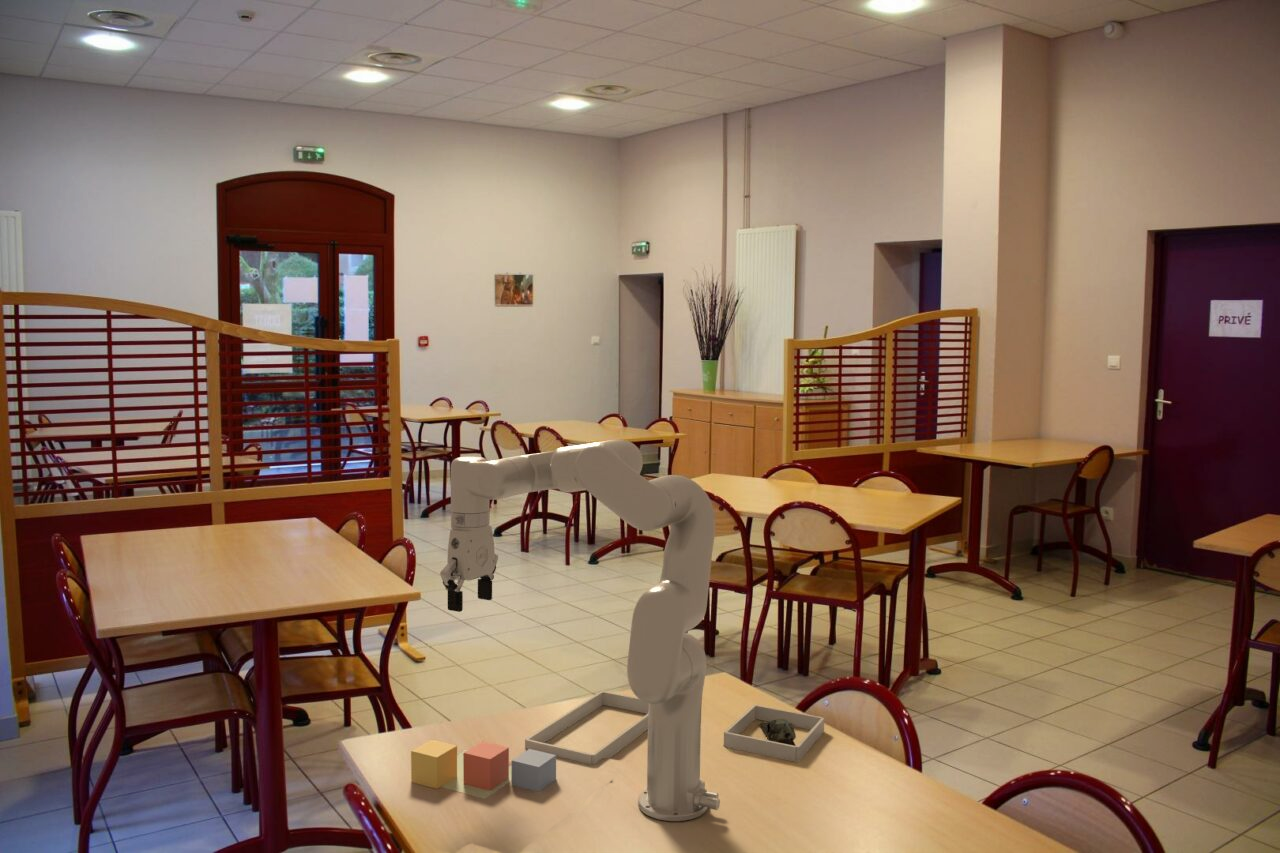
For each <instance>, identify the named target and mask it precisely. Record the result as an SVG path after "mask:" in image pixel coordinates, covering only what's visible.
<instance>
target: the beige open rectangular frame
mask: <svg viewBox="0 0 1280 853" xmlns="http://www.w3.org/2000/svg"><path fill="white" fill-rule="evenodd" d="M602 706H608V707H613V708H616V709H617V708H618V709H622V710H626V711H632V712H636V713H642V714H645V715H644V716H643V717H641V718H640V719H638V720H637V721H636V722H634V723H633V724H631V726H629V727H628V728H626V729H624V731H622V732H621V733H619V734H618V735H617V736H615V737H614V738H612V739H611V740H610V741H609V742H607V743H605V745H603V746H602V747H600V748H599V749H598V750H596V751H595V752H593V753H591V752H590V753H588V752H586V751H582V750H581V751H580V750H576V749H572V748H567V747H563V746H559V745H554V744H550V743H547V742H548V741H550V740H552V737H553V738H555V737H556V736H557V735H559V734H560V733H562V732H563V731H565V730H566V729H568V728H569V726H570V727H571V726H572V724H573V725H574V724H576V723H577V722H578V721H580V720H582V719H584V718H585V717H586V716H588V715H589V714H591V713H593V712H594V711H595V710H598V709H599V708H600V707H602ZM648 709H649V703H646V702H643V701H642V700H640V699H639V698H638V697H637V696H632V695H631V696H630V695H626V694H621V693H615V692H609V691H603V690H601V691H598V693H596V694H593V696H591V697H589V698H587V699H586V700H585V701H583V702H582V703H580V704H578V705H577V706H575V707H574V708H572V709H570V710H569V711H568V712H566V713H564V714H562V715H561V716H559V717H558V718H556V719H555V720H553V721H552V722H550V723H548V724H547V725H545V726H543V727H542V728H541V729H539V730H538V731H536V732H534V733H533V734H531V735H530V736H528V737H526V738H525V739H524V749H526V750H528V749H532V750H537V751H541V752H545V753H549V754H554V755H556V757H558V758H563V759H565V760H566V759H567V760H572V761H576V762H580V763H584V764H589V765H596V764H597V763H599V762H600V761H601V760H602V759H604V758H606V759H611V758H612V757H613V756H615V755H616V754H617V753H618V752H620V751H621V750H623V749H625V747H626V746H628V745H629V744H630V743H632V742H633V741H635V740H636V739H637V738H638V737H639V736H641V735H643V732H644V733H645V732H646V731H648ZM567 727H568V728H567ZM564 729H565V730H564ZM562 730H563V731H562ZM561 731H562V732H561ZM559 732H560V733H559ZM558 733H559V734H558ZM556 734H557V735H556ZM555 735H556V736H555ZM549 739H550V740H549ZM546 741H547V742H546Z"/></svg>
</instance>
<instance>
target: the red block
mask: <svg viewBox="0 0 1280 853" xmlns="http://www.w3.org/2000/svg"><path fill="white" fill-rule="evenodd" d="M509 749H510V747H507V746H504V745H500V744H495V743H491V742H487V741H481V742H479V743H477V744H475V745H474V746H472V747H470V748H469V749H468V750H467V751H466V752H464V753H463V772H464V784H466V785H470V786H473V787H477V788H481V789H485V790H489V791H491V790H492V789H494V788H495V787H497V786H498V785H499V784H501V783H502V782H504V781H505V780H507V779H508V778H509V760H510V755H509V754H510V753H509V752H510V750H509Z"/></svg>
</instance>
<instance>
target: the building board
mask: <svg viewBox="0 0 1280 853" xmlns="http://www.w3.org/2000/svg"><path fill="white" fill-rule="evenodd" d="M467 750H469V749H468V748H467V749H464V750H463V751H461V752H459V753H457V777H455V778H454V779H452V780H451V781H449V782H447V783H446V784H444V785H442V786H441V787H440V788H442V789H447V790H450V791H454V792H458V793H461V794H465V795H469V796H473V797H477V798H479V799H483V800H485V799H487V798H488V797H490V796H491V795H493V794H494V793H496V792H498V791H499V790H500V789H501V788H503V787H505V786H506V785H508V784H509V783H510V782H512V760H513V759H509V778H508V779H507V780H505V781H504V782H502V783H501V784H499V785H498V786H497V787H495V788H494V789H492V790H491V791H489V790H485V789H481V788H477V787H473V786H470V785H466V784H464V772H463V753H464V752H466V751H467Z"/></svg>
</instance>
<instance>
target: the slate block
mask: <svg viewBox="0 0 1280 853" xmlns="http://www.w3.org/2000/svg"><path fill="white" fill-rule="evenodd" d="M511 760H512V781H511V786H515V787H518V788H523V789H527V790H530V791H534V792H537V793H539V792H541V791H542V790H544V789H545V788H547V786H549V785H550V784H551V783H553V782H554V781H556V780H557V756H556V755H554V754H549V753H545V752H541V751H537V750H532V749H526V751H524V752H522V753H521V754H519V755H517V756H515V757H514V758H513V759H511Z"/></svg>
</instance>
